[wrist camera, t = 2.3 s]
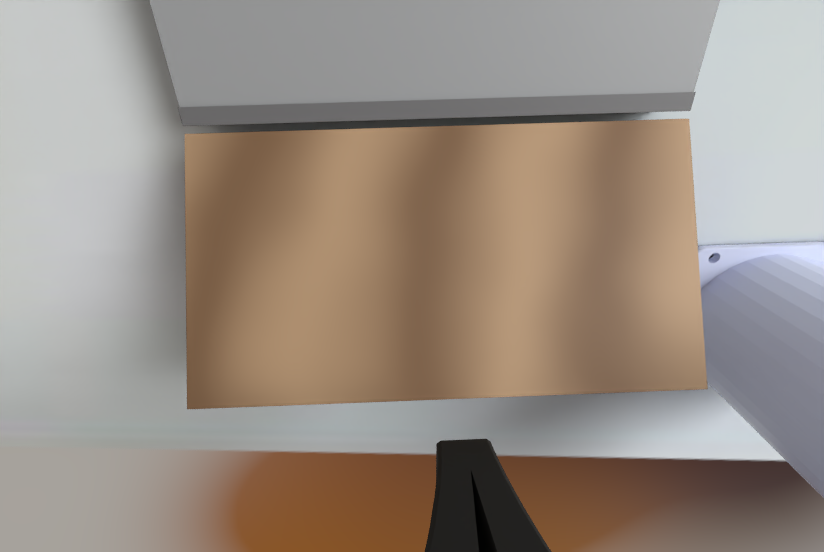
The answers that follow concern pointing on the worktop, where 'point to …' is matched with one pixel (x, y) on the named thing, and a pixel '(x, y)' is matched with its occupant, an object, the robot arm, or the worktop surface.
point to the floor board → (429, 58)
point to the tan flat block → (441, 263)
